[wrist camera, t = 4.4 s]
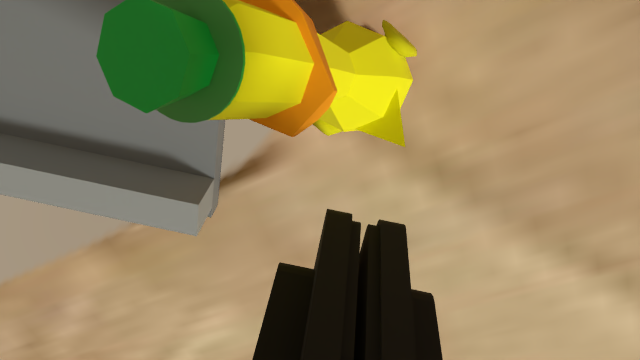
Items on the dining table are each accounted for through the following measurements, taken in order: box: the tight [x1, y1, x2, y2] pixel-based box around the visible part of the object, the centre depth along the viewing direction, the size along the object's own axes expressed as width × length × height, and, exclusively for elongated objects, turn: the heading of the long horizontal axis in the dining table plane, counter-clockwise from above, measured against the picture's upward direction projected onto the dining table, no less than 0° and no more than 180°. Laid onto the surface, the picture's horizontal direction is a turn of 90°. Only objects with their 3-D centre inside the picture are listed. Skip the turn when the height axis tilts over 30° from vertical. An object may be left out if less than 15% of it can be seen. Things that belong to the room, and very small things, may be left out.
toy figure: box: [96, 0, 417, 147], centre depth 12 cm, size 7×4×12 cm, turn 50°
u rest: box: [0, 0, 225, 236], centre depth 17 cm, size 12×16×3 cm
